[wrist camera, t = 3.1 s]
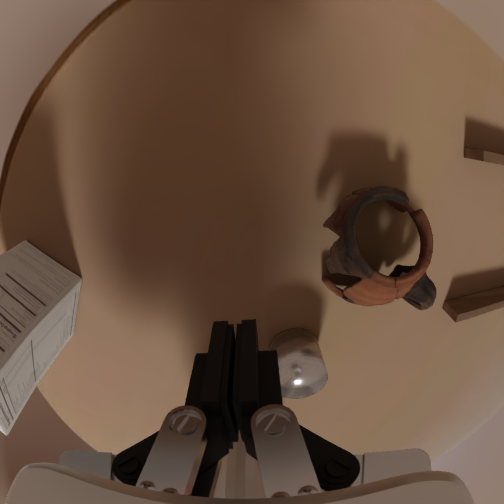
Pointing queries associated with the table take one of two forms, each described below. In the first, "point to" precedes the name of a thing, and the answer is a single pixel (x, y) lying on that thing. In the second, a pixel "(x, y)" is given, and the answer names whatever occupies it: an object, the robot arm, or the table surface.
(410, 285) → the pottery mug
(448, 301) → the display frame
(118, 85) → the table surface
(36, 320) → the supplement box
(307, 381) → the grey tin
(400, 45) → the table surface
